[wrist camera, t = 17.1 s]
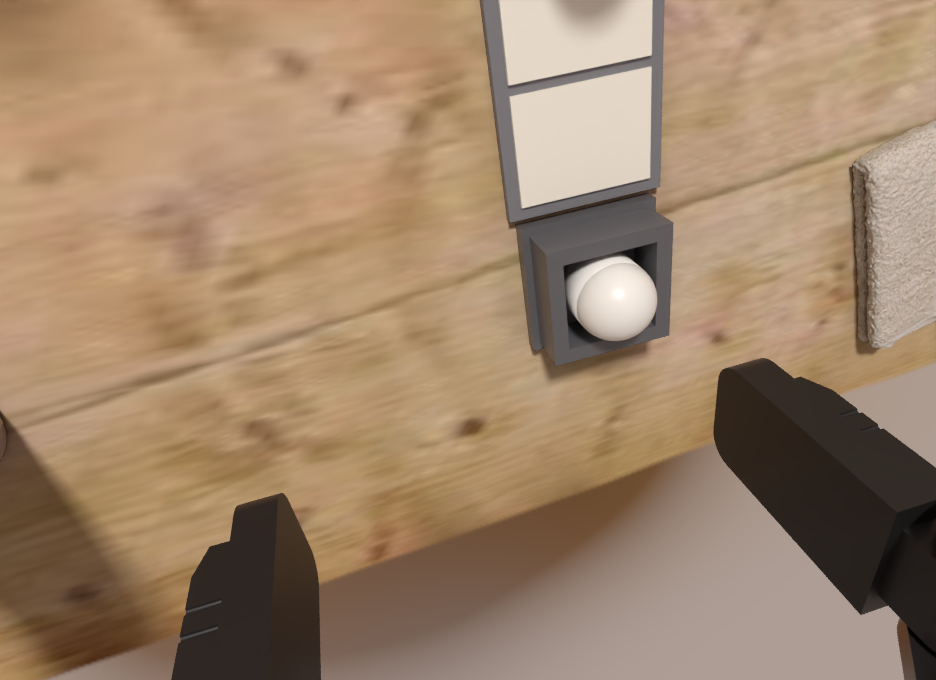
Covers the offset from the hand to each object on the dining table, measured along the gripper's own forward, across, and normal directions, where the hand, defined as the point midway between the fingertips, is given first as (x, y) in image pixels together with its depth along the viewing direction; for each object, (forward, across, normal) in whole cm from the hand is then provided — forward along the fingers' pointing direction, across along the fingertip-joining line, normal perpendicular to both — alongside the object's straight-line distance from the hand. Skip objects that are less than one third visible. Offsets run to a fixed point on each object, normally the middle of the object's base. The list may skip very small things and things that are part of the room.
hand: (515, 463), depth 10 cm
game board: (+26, -12, -5) cm, 29 cm away
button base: (+26, -12, +11) cm, 31 cm away
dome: (+25, -12, +11) cm, 30 cm away
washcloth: (+27, -39, +14) cm, 50 cm away
